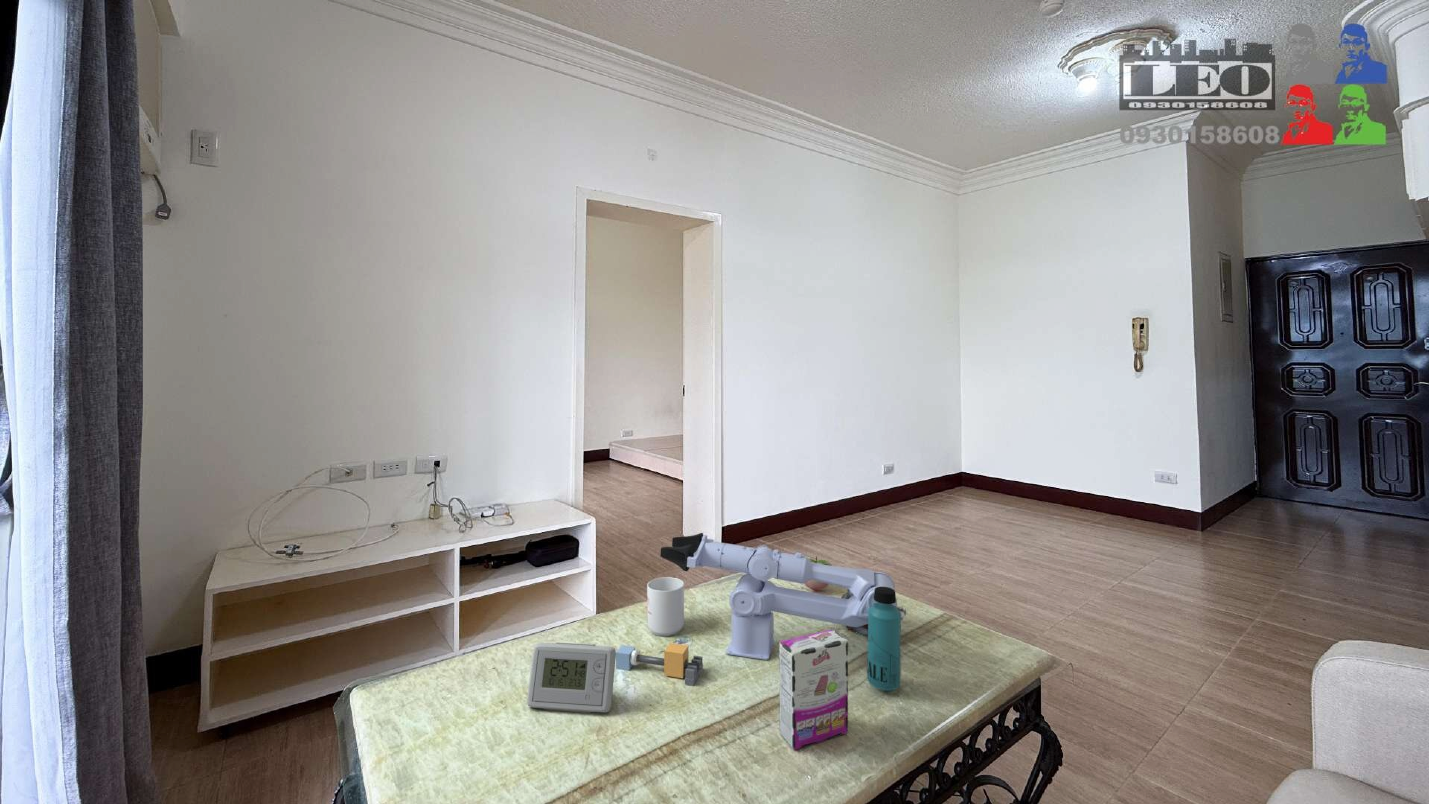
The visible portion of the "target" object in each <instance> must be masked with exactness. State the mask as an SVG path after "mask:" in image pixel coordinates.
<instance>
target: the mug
mask: <svg viewBox="0 0 1429 804" xmlns="http://www.w3.org/2000/svg"><path fill="white" fill-rule="evenodd" d="M646 585H647V586H646V587H647V588H646V593H647V594H646V597H647V598H646V602H647V603H646V605H647V607H646V610H647V611H646V616H647V617H646V618H647V619H646V621H647V622H646V623H647V629H648V630H649V631H650V632H651V633H652V634H653V635H655V636H659V637H669V636H674V635H677V634H678V633H680V631H681V630H682V629H684V625H685V583H684V581H683V580H682V579H679V578H676V577H671V576H668V577H667V576H664V577H657V578H654V579H652V580H649V582H647V583H646Z"/></svg>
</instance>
